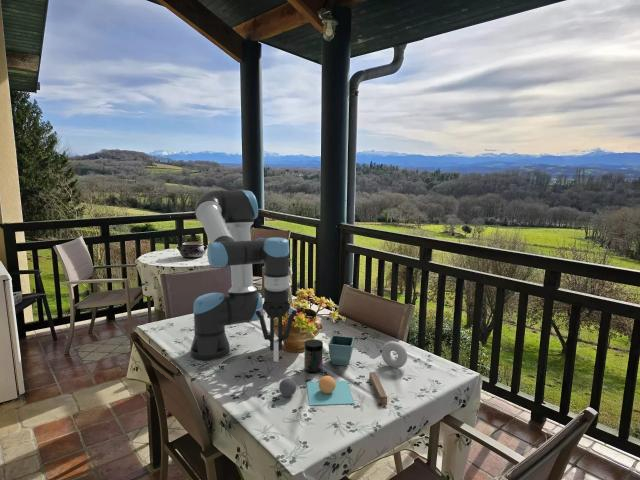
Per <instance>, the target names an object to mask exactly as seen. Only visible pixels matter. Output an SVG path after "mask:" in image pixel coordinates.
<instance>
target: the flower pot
mask: <svg viewBox="0 0 640 480" xmlns="http://www.w3.org/2000/svg"><path fill="white" fill-rule="evenodd" d="M354 344H355V337H353V336H344V335H334V334H333V335H332V336H331V337H330V339H329V341H328V353H329V354H328V355H329V358H330V361H331V363H332V364H333V365H335V366H345V367H347V366H348V365H349V363H350V361H351V357H352V354H353V350H354Z"/></svg>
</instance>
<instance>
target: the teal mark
mask: <svg viewBox="0 0 640 480" xmlns="http://www.w3.org/2000/svg"><path fill="white" fill-rule="evenodd" d="M335 384H336V386H335V389H334V391H333V392H331V393H329V394H325V393H323V392H322V391H321V390H320V389H319V381H307V382H306V387H307V396H308V404H309V405H308V406H310V407H313V406H331V405H333V406H334V405H335V406H336V405H337V406H338V405H355V404H356V403H355V400H354V396H353V393H352V390H351V388H350V385H349V381H348V380H335Z"/></svg>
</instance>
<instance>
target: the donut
mask: <svg viewBox="0 0 640 480" xmlns="http://www.w3.org/2000/svg"><path fill="white" fill-rule="evenodd" d="M392 351H393V352H396V354H397V358H394V357H393V356H392V353H391V352H392ZM381 357H382V359H383V362H384V363H385V364H386V365H387V366H388V367H390V368H392V369H399V368H402V367H403V366H404V365H406V363H407V361H408V353H407V350H406V348H405V347H404V345H402V344H401V343H400V342H397V341H394V340H391V341H387V342H385V344H383V346H382V348H381Z"/></svg>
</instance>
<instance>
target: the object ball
mask: <svg viewBox="0 0 640 480" xmlns="http://www.w3.org/2000/svg"><path fill="white" fill-rule="evenodd" d="M335 381H336V380H335V379H334V378H333V377H332V376H330V375H324V376H322V377H321V378H320V379H319V381H318V382H319V389H320V390H321V391H322V392H323V393H325V394H329V393H331V392H333V391H334V389H335V386H336V384H335Z"/></svg>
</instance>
